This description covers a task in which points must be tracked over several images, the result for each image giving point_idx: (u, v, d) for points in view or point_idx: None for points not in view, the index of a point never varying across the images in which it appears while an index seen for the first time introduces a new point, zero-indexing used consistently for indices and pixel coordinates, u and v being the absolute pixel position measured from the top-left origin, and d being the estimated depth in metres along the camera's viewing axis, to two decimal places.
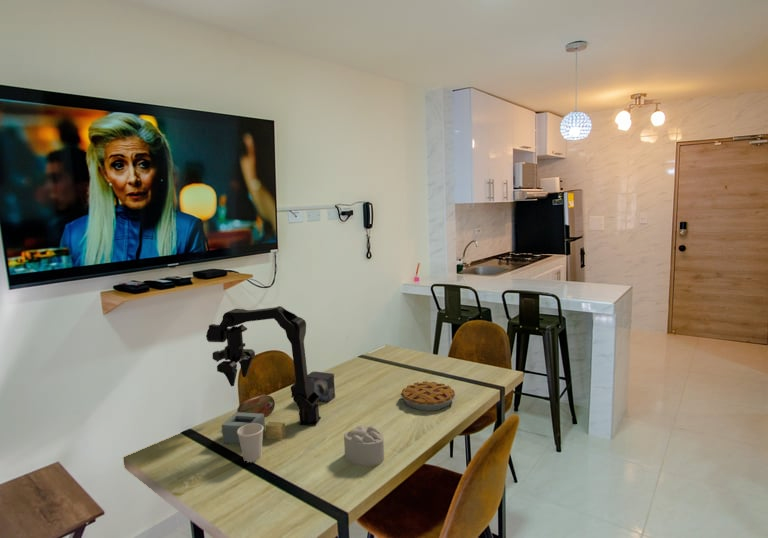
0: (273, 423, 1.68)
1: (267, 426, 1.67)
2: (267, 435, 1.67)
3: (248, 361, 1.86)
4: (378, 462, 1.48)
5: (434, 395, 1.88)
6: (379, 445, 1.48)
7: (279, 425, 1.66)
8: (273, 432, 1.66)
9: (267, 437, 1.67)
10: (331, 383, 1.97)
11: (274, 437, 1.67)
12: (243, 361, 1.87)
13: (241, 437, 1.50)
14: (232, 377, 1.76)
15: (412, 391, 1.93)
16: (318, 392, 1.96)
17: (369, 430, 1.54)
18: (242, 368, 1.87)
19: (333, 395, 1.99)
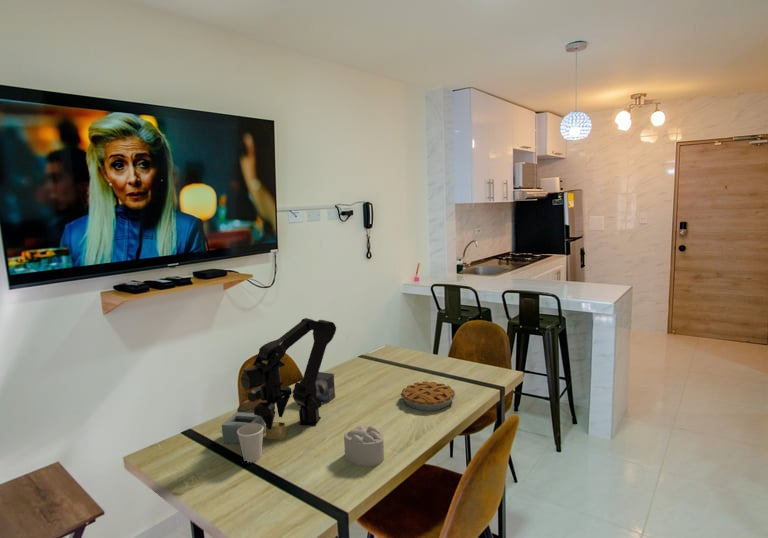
0: (273, 423, 1.68)
1: None
2: (267, 435, 1.67)
3: (285, 400, 1.71)
4: (378, 462, 1.48)
5: (434, 395, 1.88)
6: (379, 445, 1.48)
7: (279, 425, 1.66)
8: (273, 432, 1.66)
9: (267, 437, 1.67)
10: (331, 383, 1.97)
11: (274, 437, 1.67)
12: (279, 400, 1.72)
13: (241, 437, 1.50)
14: (270, 420, 1.61)
15: (412, 391, 1.93)
16: (318, 392, 1.96)
17: (369, 430, 1.54)
18: (278, 407, 1.72)
19: (333, 395, 1.99)
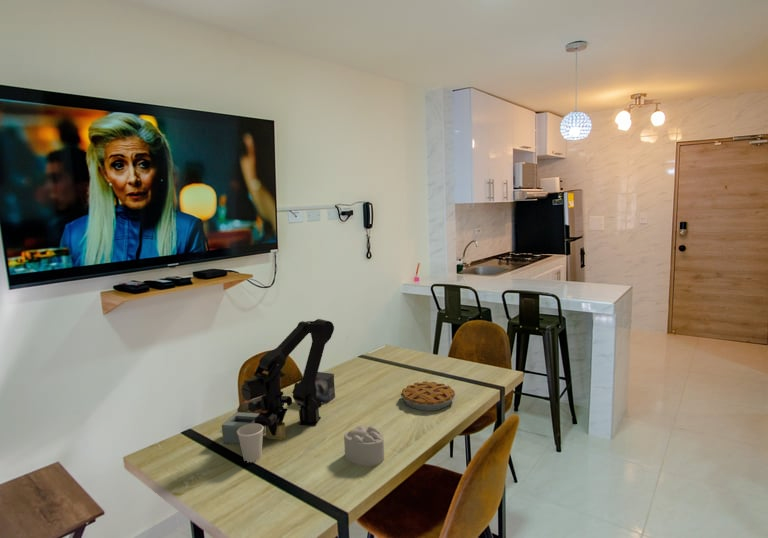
0: None
1: (267, 426, 1.67)
2: (267, 435, 1.67)
3: (282, 413, 1.69)
4: (378, 462, 1.48)
5: (434, 395, 1.88)
6: (379, 445, 1.48)
7: (279, 425, 1.66)
8: None
9: (267, 437, 1.67)
10: (331, 383, 1.97)
11: (274, 437, 1.67)
12: (276, 413, 1.69)
13: (241, 437, 1.50)
14: (274, 426, 1.64)
15: (412, 391, 1.93)
16: (318, 392, 1.96)
17: (369, 430, 1.54)
18: None
19: (333, 395, 1.99)
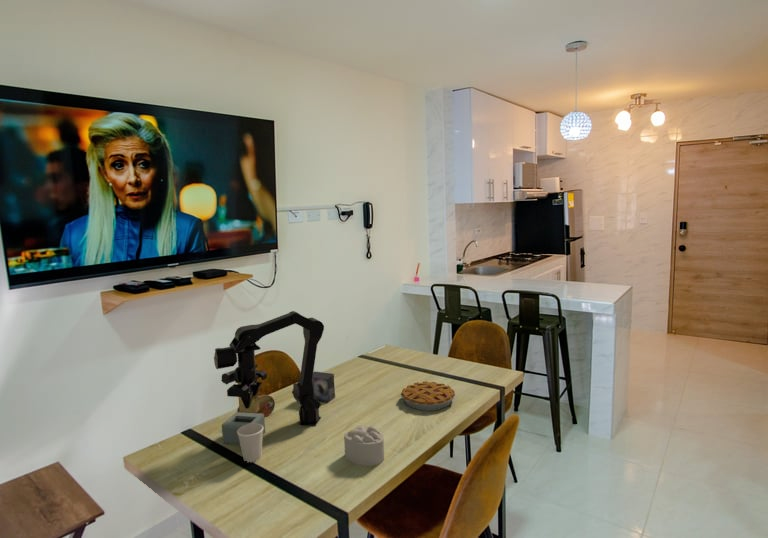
0: None
1: (241, 399, 1.65)
2: (240, 408, 1.65)
3: (256, 386, 1.67)
4: (378, 462, 1.48)
5: (434, 395, 1.88)
6: (379, 445, 1.48)
7: (253, 398, 1.64)
8: None
9: (240, 410, 1.66)
10: (331, 383, 1.97)
11: (247, 410, 1.65)
12: (250, 386, 1.68)
13: (241, 437, 1.50)
14: (247, 399, 1.63)
15: (412, 391, 1.93)
16: (318, 392, 1.96)
17: (369, 430, 1.54)
18: None
19: (333, 395, 1.99)
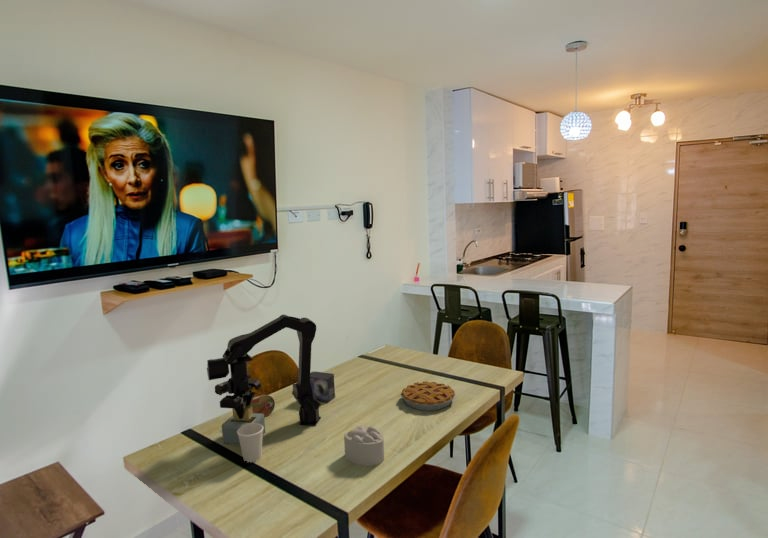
0: None
1: (234, 410, 1.66)
2: (234, 418, 1.66)
3: (250, 397, 1.68)
4: (378, 462, 1.48)
5: (434, 395, 1.88)
6: (379, 445, 1.48)
7: (246, 408, 1.65)
8: None
9: (234, 420, 1.67)
10: (331, 383, 1.97)
11: (241, 420, 1.66)
12: (244, 397, 1.69)
13: (241, 437, 1.50)
14: (241, 409, 1.64)
15: (412, 391, 1.93)
16: (318, 392, 1.96)
17: (369, 430, 1.54)
18: None
19: (333, 395, 1.99)
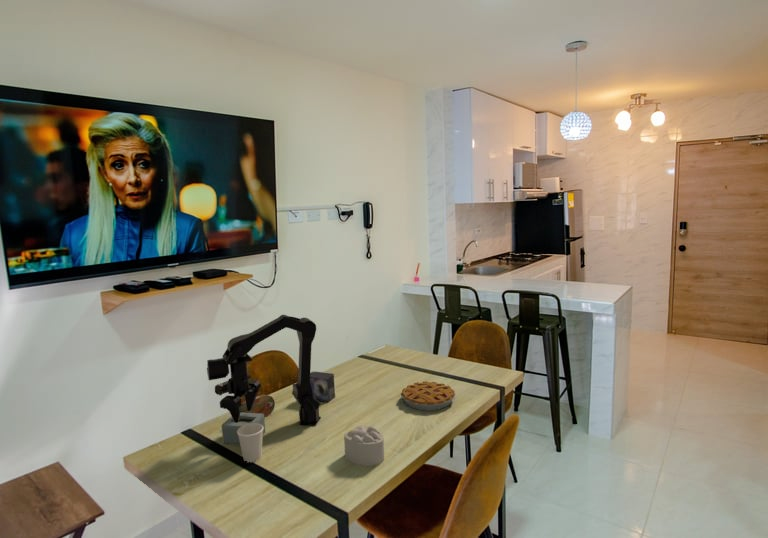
0: None
1: None
2: None
3: (253, 394, 1.71)
4: (378, 462, 1.48)
5: (434, 395, 1.88)
6: (380, 445, 1.48)
7: None
8: None
9: None
10: (331, 383, 1.97)
11: None
12: (248, 393, 1.71)
13: (241, 437, 1.50)
14: (236, 413, 1.61)
15: (412, 391, 1.93)
16: (318, 392, 1.96)
17: (369, 430, 1.54)
18: (247, 401, 1.72)
19: (333, 395, 1.99)
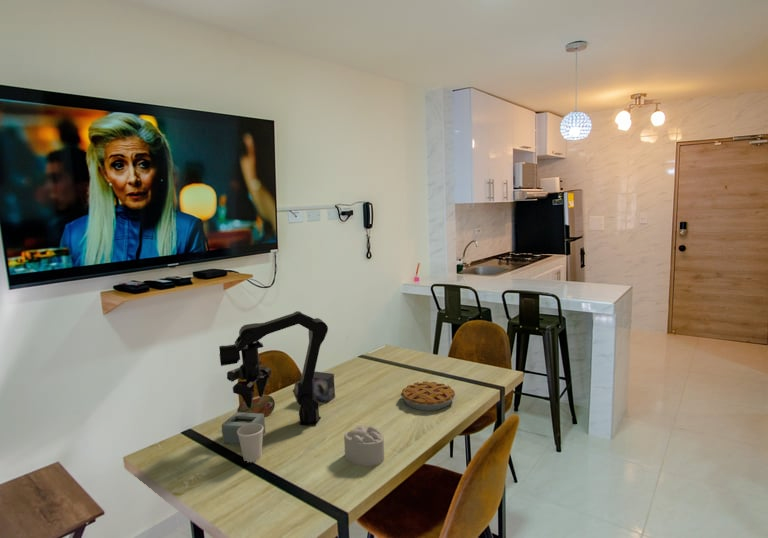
0: None
1: None
2: None
3: (265, 379, 1.74)
4: (378, 462, 1.48)
5: (434, 395, 1.88)
6: (380, 445, 1.48)
7: None
8: None
9: None
10: (331, 383, 1.97)
11: None
12: (259, 380, 1.75)
13: (241, 437, 1.50)
14: (249, 398, 1.64)
15: (412, 391, 1.93)
16: (318, 392, 1.96)
17: (369, 430, 1.54)
18: (258, 387, 1.75)
19: (333, 395, 1.99)
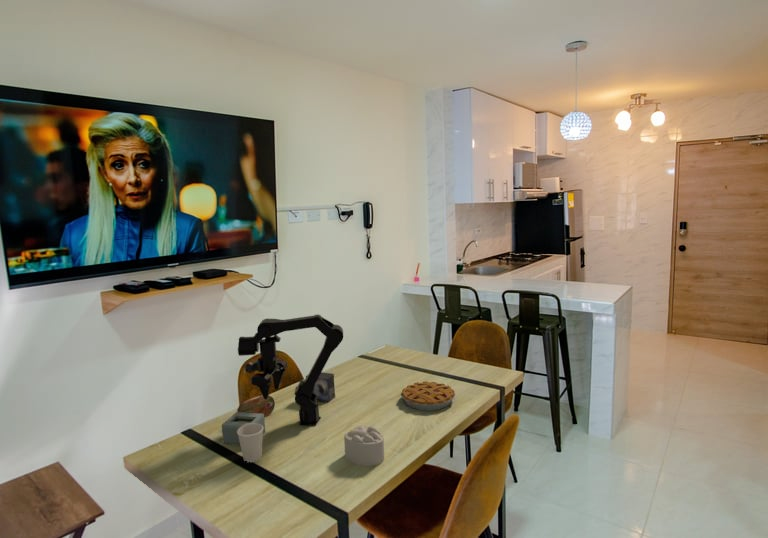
0: None
1: None
2: None
3: (281, 373, 1.80)
4: (378, 462, 1.48)
5: (434, 395, 1.88)
6: (380, 445, 1.48)
7: None
8: None
9: None
10: (331, 383, 1.97)
11: None
12: (275, 373, 1.80)
13: (241, 437, 1.50)
14: (266, 390, 1.70)
15: (412, 391, 1.93)
16: (318, 392, 1.96)
17: (369, 430, 1.54)
18: (274, 380, 1.80)
19: (333, 395, 1.99)
